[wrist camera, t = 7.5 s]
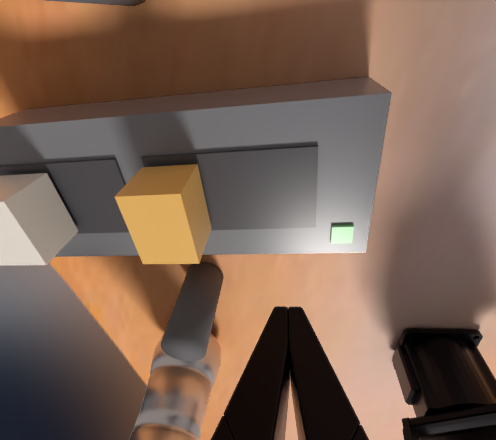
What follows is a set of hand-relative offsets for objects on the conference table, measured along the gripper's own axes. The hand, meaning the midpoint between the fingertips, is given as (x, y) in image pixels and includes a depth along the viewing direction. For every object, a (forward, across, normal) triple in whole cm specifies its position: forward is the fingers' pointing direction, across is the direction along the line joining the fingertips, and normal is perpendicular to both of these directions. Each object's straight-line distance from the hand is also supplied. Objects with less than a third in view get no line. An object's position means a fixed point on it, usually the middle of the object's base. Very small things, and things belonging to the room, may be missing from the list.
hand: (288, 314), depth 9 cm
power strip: (+12, +6, 0) cm, 13 cm away
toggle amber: (+8, +6, 0) cm, 10 cm away
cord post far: (+12, +7, +11) cm, 18 cm away
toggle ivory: (+8, +14, 0) cm, 16 cm away
